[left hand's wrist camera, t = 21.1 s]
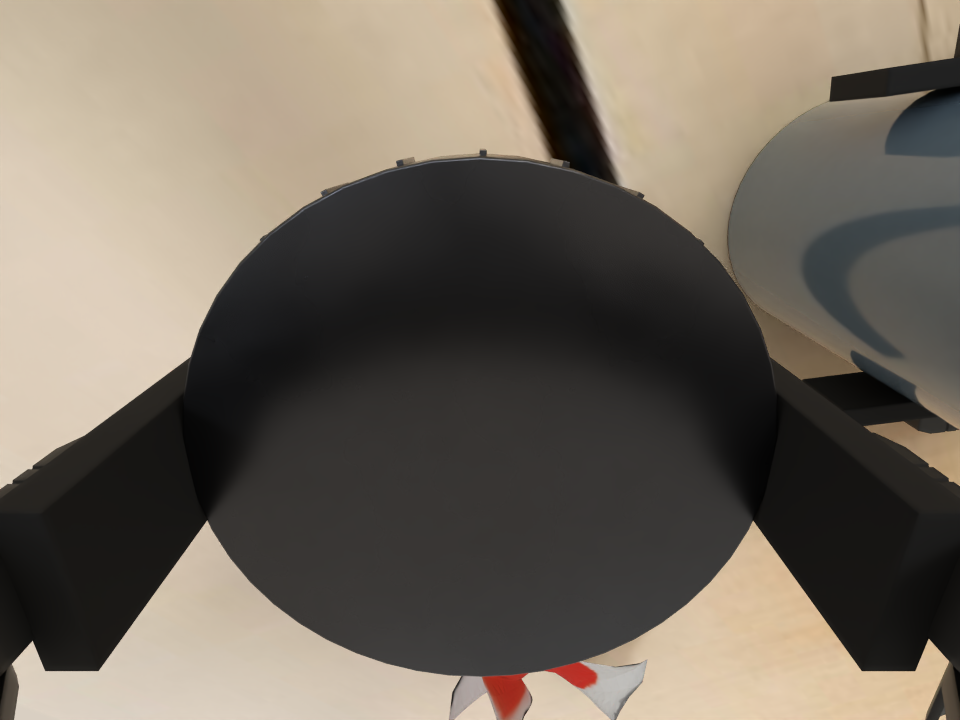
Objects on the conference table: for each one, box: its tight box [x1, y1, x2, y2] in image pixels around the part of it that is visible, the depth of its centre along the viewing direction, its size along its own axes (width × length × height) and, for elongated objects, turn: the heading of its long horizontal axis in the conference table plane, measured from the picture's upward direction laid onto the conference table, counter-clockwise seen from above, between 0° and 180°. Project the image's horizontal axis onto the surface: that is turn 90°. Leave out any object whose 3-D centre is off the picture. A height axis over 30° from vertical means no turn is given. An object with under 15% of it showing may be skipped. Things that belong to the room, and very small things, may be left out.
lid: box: [183, 149, 777, 677], centre depth 11 cm, size 11×11×2 cm
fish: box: [449, 660, 647, 720], centre depth 29 cm, size 11×16×10 cm
